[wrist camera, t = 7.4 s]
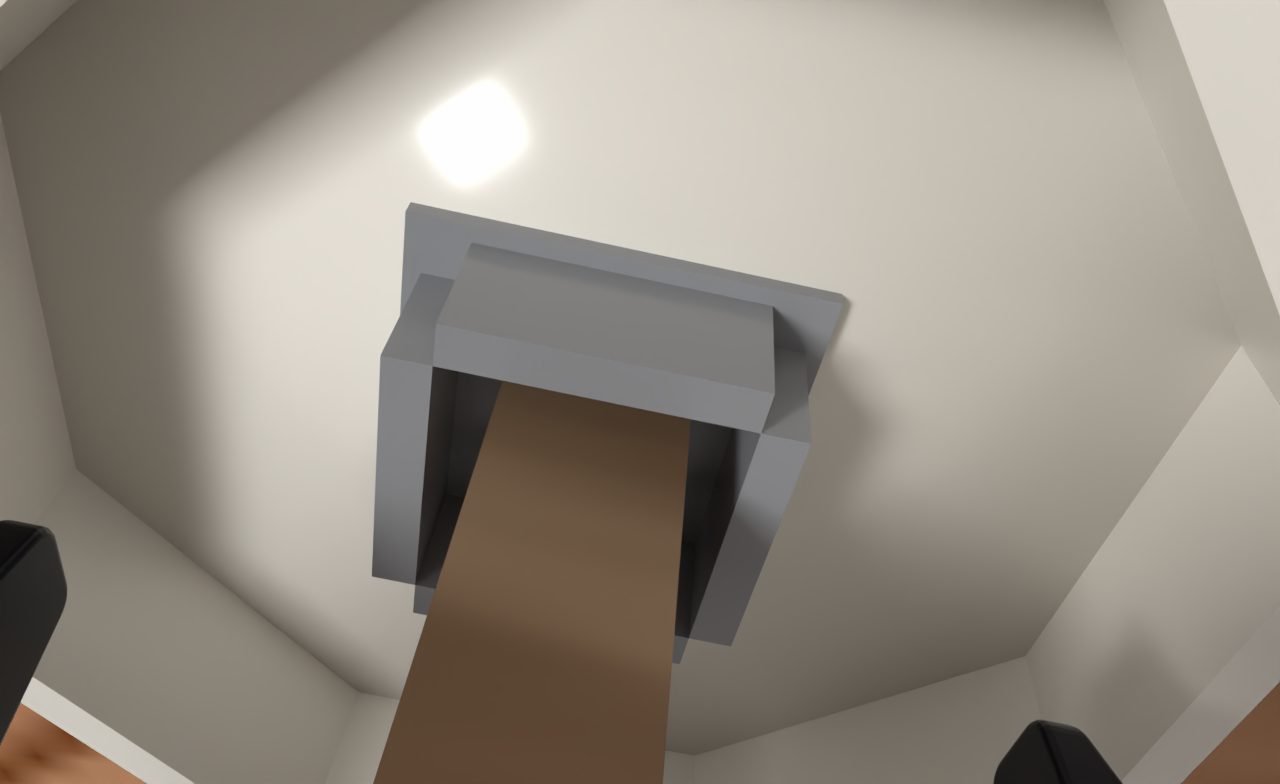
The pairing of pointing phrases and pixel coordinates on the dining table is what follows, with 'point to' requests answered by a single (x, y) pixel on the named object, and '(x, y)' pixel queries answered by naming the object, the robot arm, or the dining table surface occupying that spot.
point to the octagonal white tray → (654, 360)
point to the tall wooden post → (552, 604)
